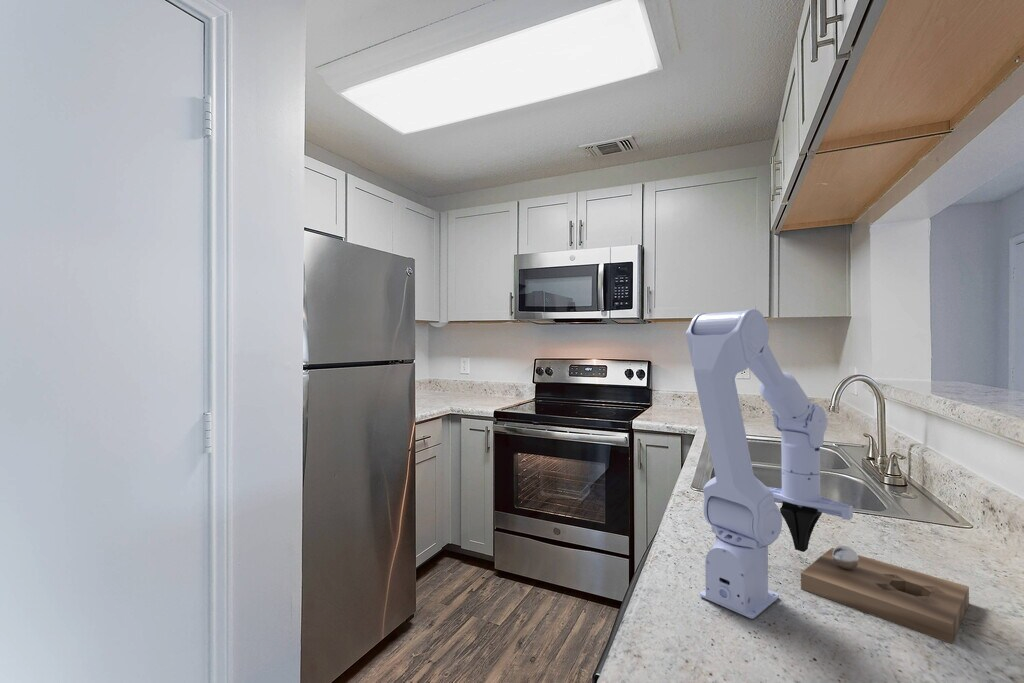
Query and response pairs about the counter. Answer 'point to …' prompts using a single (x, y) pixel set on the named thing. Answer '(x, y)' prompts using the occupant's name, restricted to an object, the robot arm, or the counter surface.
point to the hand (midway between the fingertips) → (801, 549)
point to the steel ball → (845, 557)
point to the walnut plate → (891, 594)
